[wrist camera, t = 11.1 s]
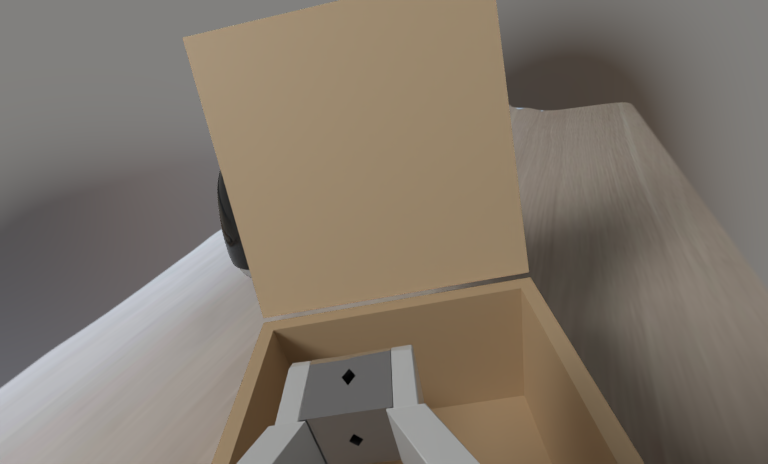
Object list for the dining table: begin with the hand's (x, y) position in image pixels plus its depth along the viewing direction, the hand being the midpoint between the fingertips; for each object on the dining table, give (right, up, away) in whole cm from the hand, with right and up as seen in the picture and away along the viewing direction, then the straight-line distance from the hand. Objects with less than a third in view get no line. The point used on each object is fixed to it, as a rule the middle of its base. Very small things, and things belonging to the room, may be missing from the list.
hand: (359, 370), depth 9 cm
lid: (0, +7, +11) cm, 14 cm away
